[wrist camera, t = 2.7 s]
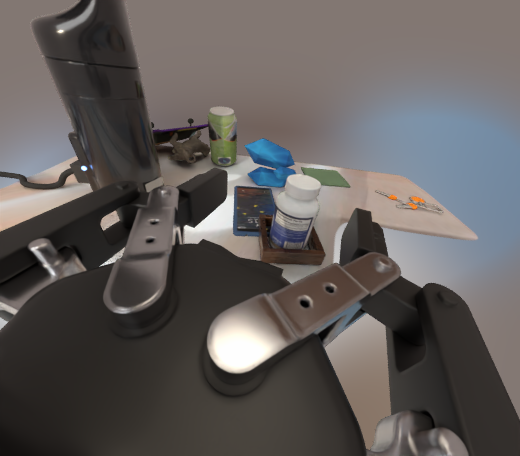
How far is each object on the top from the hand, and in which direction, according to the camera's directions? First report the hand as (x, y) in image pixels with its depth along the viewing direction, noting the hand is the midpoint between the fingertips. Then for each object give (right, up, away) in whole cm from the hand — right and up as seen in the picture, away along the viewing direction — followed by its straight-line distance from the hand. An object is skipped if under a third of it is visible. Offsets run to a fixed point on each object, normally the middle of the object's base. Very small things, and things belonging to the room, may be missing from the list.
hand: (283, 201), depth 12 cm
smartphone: (-2, +1, +23) cm, 23 cm away
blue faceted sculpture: (0, +8, +31) cm, 32 cm away
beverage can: (-11, +14, +36) cm, 40 cm away
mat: (+15, +11, +37) cm, 42 cm away
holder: (+2, -4, +16) cm, 17 cm away
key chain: (+32, +4, +32) cm, 45 cm away
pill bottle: (+2, -4, +17) cm, 17 cm away
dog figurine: (-21, +19, +35) cm, 45 cm away
